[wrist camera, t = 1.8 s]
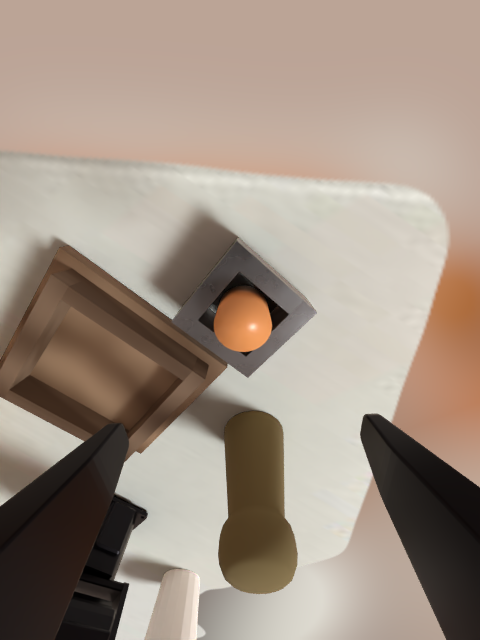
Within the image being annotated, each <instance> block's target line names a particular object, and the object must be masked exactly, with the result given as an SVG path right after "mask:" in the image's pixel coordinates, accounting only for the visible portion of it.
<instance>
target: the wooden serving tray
mask: <svg viewBox="0 0 480 640" xmlns="http://www.w3.org/2000/svg"><path fill="white" fill-rule="evenodd" d="M171 321H172V320H171V319H169V318H168V317H167V316H165V315H164V314H163V313H161V312H160V311H158V310H157V309H156V308H154V307H153V306H152V305H150V304H149V303H147V302H146V301H145V300H143V299H142V298H141V297H139V296H138V295H136V294H135V293H134V292H132V291H131V290H130V289H128V288H127V287H125V286H124V285H123V284H121V283H120V282H119V281H117V280H116V279H114V278H113V277H112V276H110V275H109V274H108V273H106V272H105V271H103V270H102V269H101V268H99V267H98V266H97V265H95V264H94V263H92V262H91V261H90V260H88V259H87V258H86V257H84V256H83V255H82V254H80V253H79V252H77V251H76V250H75V249H73V248H72V247H71V246H64V247H59V249H58V251H57V253H56V255H55V257H54V259H53V261H52V263H51V265H50V266H49V268H48V270H47V272H46V274H45V276H44V278H43V280H42V282H41V284H40V286H39V288H38V289H37V291H36V293H35V295H34V297H33V299H32V301H31V303H30V305H29V307H28V309H27V310H26V312H25V314H24V316H23V318H22V320H21V322H20V324H19V326H18V328H17V330H16V331H15V333H14V335H13V337H12V339H11V341H10V343H9V345H8V347H7V349H6V351H5V352H4V354H3V356H2V358H1V360H0V397H2V398H4V399H5V400H7V401H9V402H11V403H13V404H15V405H17V406H19V407H21V408H23V409H24V410H26V411H28V412H30V413H32V414H34V415H36V416H38V417H40V418H42V419H43V420H45V421H47V422H49V423H51V424H53V425H55V426H57V427H59V428H60V429H62V430H64V431H66V432H68V433H70V434H72V435H74V436H76V437H78V438H79V439H81V440H83V441H86V440H87V439H89V438H90V437H91V436H93V435H94V434H95V433H97V432H98V431H99V430H100V429H102V428H103V427H104V426H106V425H107V424H109V423H122V424H123V425H124V428H125V431H126V433H127V436H128V439H129V448H128V451H127V455H126V458H125V461H126V460H127V459H128V458H129V457H130V456H131V455H132V454H133V453H134V452H135V451H137V452H139V453H140V454H141V453H142V452H143V451H144V450H145V449H146V448H147V447H148V446H149V445H150V444H151V443H152V442H153V441H154V440H155V439H156V438H157V437H158V436H159V435H160V434H161V433H162V432H163V431H164V430H165V429H166V428H167V427H168V426H169V425H170V424H171V423H172V422H173V421H174V420H175V419H176V418H177V417H178V416H179V415H180V414H181V413H182V412H183V411H184V410H185V409H186V408H187V407H188V406H189V405H190V404H191V403H192V402H193V401H194V400H195V399H196V398H197V397H198V396H199V395H200V394H201V393H202V392H203V391H204V390H205V389H206V388H207V387H208V386H209V385H210V384H211V383H212V382H213V381H214V380H215V379H216V378H217V377H218V376H219V375H220V374H221V373H222V372H223V371H224V370H225V369H226V368H227V364H228V363H227V362H226V361H224V360H223V359H221V358H220V357H219V356H217V355H216V354H214V353H213V352H212V351H210V350H209V349H208V348H206V347H205V346H203V345H202V344H201V343H199V342H198V341H197V340H195V339H194V338H192V337H191V336H190V335H188V334H187V333H186V332H184V331H183V330H181V329H180V328H179V327H177V326H176V325H175V324H173V323H172V322H171ZM125 461H124V462H125Z"/></svg>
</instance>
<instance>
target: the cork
mask: <svg viewBox="0 0 480 640" xmlns="http://www.w3.org/2000/svg"><path fill="white" fill-rule="evenodd" d="M224 440H225V460H226V479H227V498H228V519H227V521H226V522H225V524H224V525H223V527H222V531H221V534H220V540H219V550H218V557H219V565H220V568H221V571H222V573H223V576H224V578H225V580H226V581H227V582H228V583H230V584H231V585H232V586H233V587H234V588H236V589H238V590H240V591H243V592H247V593H253V594H267V593H272V592H276V591H279V590H281V589H283V588H284V587H285V586H286V585H287V584H289V583H290V582H291V581H292V579H293V576H294V573H295V570H296V567H297V554H298V553H297V547H296V542H295V537H294V534H293V531H292V528H291V526H290V524H289V523H288V522H287V520H286V519H285V514H284V444H283V429H282V425H281V424H280V422H279V421H278V420H277V419H276V418H275V417H273V416H272V415H270V414H267V413H264V412H260V411H248V412H242V413H240V414H238V415H235V416H234V417H233V418H231V419H230V420H229V421H228V423H227V424H226V426H225V431H224Z"/></svg>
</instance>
